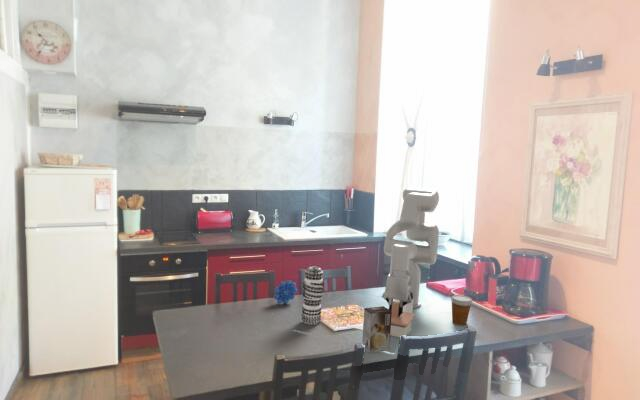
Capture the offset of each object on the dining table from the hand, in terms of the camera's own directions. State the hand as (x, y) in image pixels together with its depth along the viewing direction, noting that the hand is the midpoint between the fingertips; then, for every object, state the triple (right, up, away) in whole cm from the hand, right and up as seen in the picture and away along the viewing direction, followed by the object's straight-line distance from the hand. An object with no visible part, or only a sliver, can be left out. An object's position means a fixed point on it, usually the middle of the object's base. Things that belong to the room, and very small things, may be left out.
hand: (395, 313), depth 204 cm
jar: (+6, -6, +19) cm, 21 cm away
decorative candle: (-37, -5, +5) cm, 37 cm away
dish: (-1, -8, +1) cm, 8 cm away
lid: (0, -2, 0) cm, 2 cm away
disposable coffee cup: (+32, -8, +16) cm, 37 cm away
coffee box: (-11, -10, -18) cm, 23 cm away
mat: (-15, -6, +7) cm, 18 cm away
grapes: (-50, -2, +29) cm, 58 cm away
